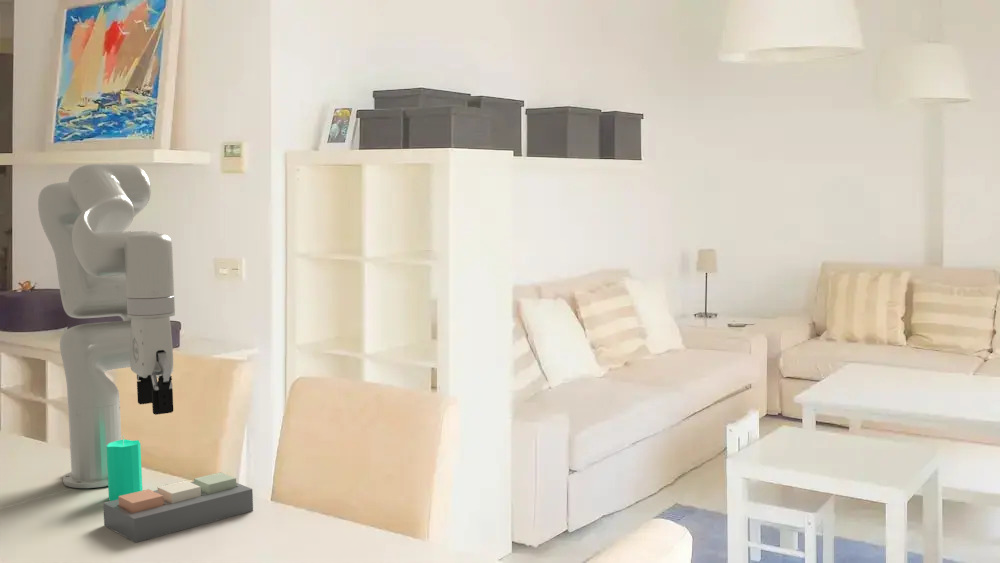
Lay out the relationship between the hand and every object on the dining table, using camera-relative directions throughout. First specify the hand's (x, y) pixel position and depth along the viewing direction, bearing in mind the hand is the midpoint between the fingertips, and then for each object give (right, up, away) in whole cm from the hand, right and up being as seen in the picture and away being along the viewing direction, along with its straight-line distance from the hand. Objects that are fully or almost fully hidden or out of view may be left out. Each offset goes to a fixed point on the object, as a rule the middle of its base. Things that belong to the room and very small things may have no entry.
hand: (155, 408), depth 163 cm
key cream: (+2, -18, +8) cm, 20 cm away
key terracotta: (-3, -19, +3) cm, 19 cm away
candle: (-13, -20, +20) cm, 31 cm away
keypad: (+2, -21, +8) cm, 22 cm away
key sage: (+6, -18, +13) cm, 23 cm away
